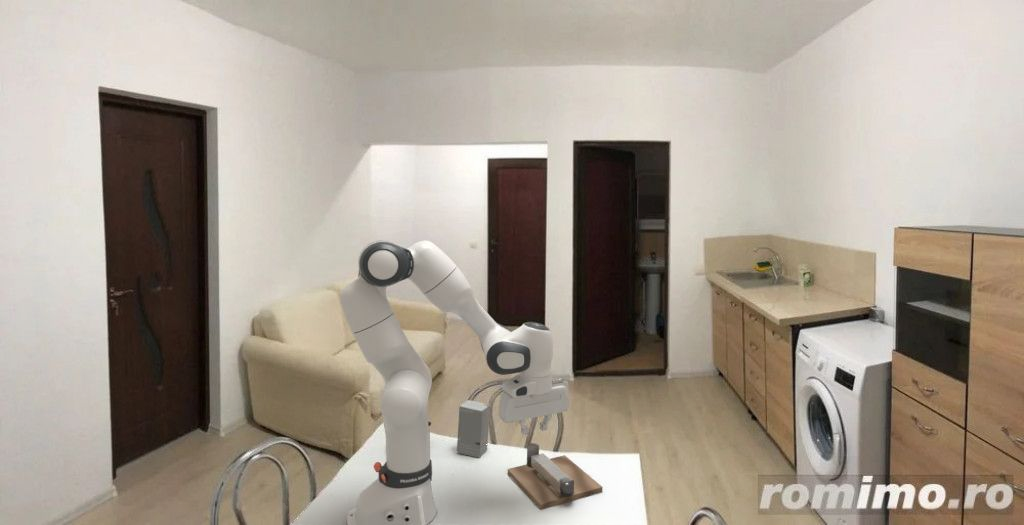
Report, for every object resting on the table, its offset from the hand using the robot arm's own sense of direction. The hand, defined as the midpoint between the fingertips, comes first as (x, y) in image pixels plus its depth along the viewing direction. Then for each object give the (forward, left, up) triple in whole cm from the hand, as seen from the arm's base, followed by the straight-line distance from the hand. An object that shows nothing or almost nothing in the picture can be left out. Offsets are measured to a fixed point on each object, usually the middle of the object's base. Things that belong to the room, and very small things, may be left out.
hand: (534, 431), depth 146 cm
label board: (+9, +4, -19) cm, 21 cm away
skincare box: (-5, +31, -19) cm, 37 cm away
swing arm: (+7, +1, -16) cm, 18 cm away
